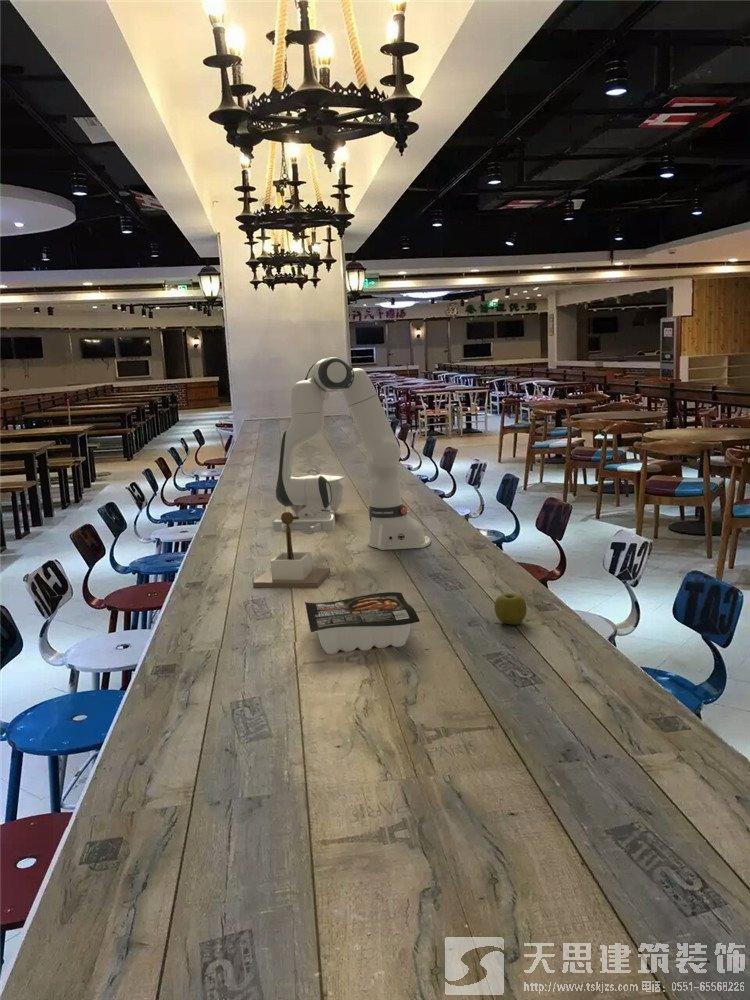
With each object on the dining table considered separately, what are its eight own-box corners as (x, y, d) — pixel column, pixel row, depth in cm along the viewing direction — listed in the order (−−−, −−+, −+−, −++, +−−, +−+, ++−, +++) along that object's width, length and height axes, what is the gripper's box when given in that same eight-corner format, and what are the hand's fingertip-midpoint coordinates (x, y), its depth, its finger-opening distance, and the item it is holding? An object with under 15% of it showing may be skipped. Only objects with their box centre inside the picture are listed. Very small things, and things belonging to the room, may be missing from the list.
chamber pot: (345, 521, 321) (343, 471, 317) (279, 524, 322) (276, 474, 318) (349, 507, 348) (346, 462, 344) (288, 510, 349) (285, 465, 345)
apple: (504, 616, 198) (503, 589, 196) (532, 621, 193) (532, 594, 191) (488, 625, 192) (488, 597, 191) (517, 631, 187) (517, 602, 186)
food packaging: (401, 590, 200) (419, 618, 178) (402, 617, 201) (421, 649, 179) (304, 599, 196) (311, 629, 174) (306, 627, 198) (313, 661, 176)
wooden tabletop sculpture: (304, 572, 242) (299, 509, 238) (301, 576, 237) (296, 512, 233) (285, 573, 242) (280, 510, 238) (282, 577, 238) (277, 513, 234)
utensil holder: (330, 572, 246) (329, 549, 244) (317, 587, 230) (315, 563, 229) (270, 572, 250) (268, 549, 248) (253, 587, 234) (251, 563, 233)
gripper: (278, 511, 260) (265, 520, 247) (338, 510, 256) (328, 519, 243) (280, 529, 261) (267, 539, 248) (339, 529, 257) (329, 539, 244)
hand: (298, 529), depth 245 cm, fingers open, 8 cm apart
